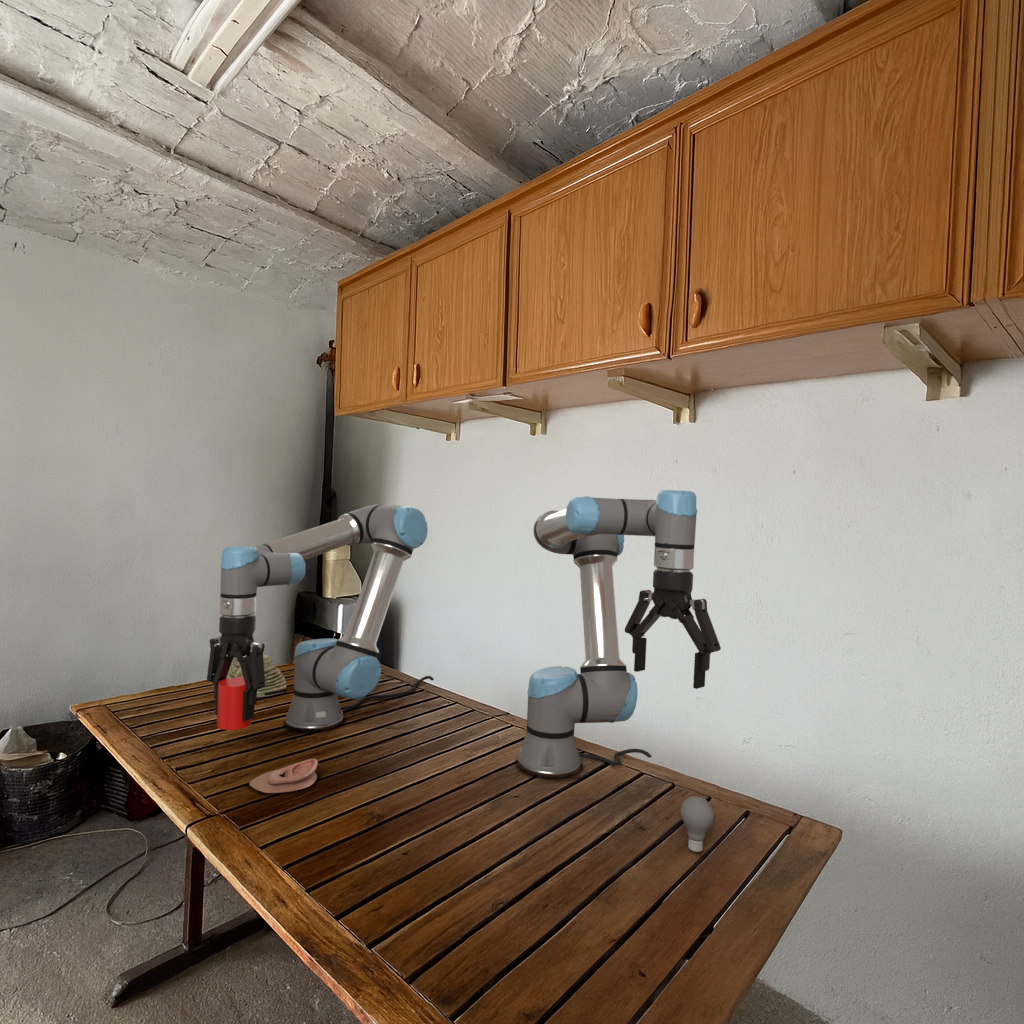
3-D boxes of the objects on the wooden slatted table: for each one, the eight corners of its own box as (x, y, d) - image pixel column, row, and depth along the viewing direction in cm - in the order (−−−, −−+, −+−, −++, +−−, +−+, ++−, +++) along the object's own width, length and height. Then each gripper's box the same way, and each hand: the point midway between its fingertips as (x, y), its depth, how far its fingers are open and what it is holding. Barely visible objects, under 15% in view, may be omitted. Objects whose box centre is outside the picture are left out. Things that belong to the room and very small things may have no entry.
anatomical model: (241, 770, 135) (272, 750, 146) (240, 789, 135) (271, 767, 146) (297, 779, 132) (324, 757, 144) (297, 798, 132) (324, 775, 144)
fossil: (218, 695, 195) (220, 647, 195) (278, 685, 208) (279, 640, 207) (228, 703, 189) (230, 653, 188) (289, 692, 201) (290, 645, 201)
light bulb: (674, 841, 122) (676, 790, 121) (704, 841, 122) (707, 790, 122) (685, 859, 116) (688, 805, 115) (717, 859, 116) (719, 805, 116)
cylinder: (256, 725, 143) (257, 682, 143) (223, 732, 138) (224, 688, 138) (244, 716, 148) (245, 675, 148) (212, 723, 143) (213, 680, 143)
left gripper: (190, 613, 142) (187, 714, 143) (261, 622, 135) (257, 728, 136) (216, 608, 149) (213, 704, 150) (285, 617, 142) (281, 718, 143)
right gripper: (610, 563, 130) (605, 666, 130) (721, 578, 111) (715, 698, 111) (633, 562, 135) (628, 661, 135) (743, 576, 116) (737, 691, 116)
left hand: (234, 716), depth 143 cm, fingers closed on cylinder, 7 cm apart
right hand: (668, 678), depth 123 cm, fingers open, 13 cm apart
